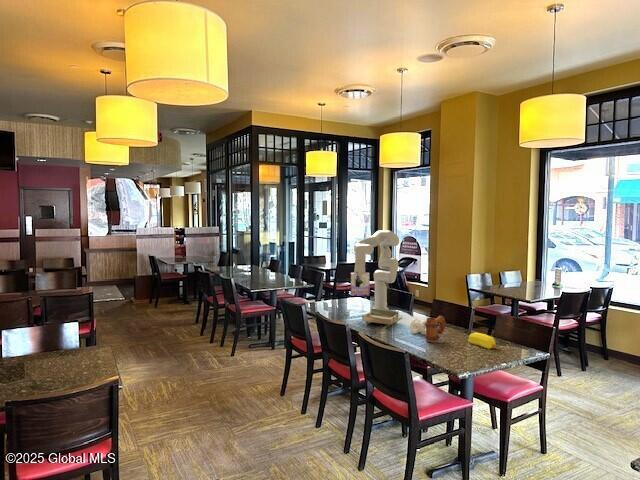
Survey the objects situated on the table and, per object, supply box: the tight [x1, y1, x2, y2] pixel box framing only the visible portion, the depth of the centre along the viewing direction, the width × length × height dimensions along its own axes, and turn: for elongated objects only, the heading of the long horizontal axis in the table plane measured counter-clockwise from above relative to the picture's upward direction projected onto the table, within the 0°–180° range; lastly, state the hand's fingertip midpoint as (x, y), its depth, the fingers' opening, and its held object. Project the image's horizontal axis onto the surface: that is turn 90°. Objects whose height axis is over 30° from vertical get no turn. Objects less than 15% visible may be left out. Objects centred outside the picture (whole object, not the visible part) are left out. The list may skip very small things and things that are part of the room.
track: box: [363, 316, 403, 330], centre depth 312 cm, size 34×16×1 cm, turn 151°
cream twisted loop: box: [408, 318, 427, 335], centre depth 283 cm, size 11×12×9 cm
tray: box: [361, 307, 399, 326], centre depth 307 cm, size 17×20×7 cm
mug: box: [424, 315, 446, 344], centre depth 265 cm, size 15×8×15 cm, turn 117°
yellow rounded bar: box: [468, 332, 497, 350], centre depth 258 cm, size 18×7×8 cm
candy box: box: [350, 271, 371, 297], centre depth 321 cm, size 14×6×16 cm, turn 83°
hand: (360, 285), depth 321 cm, fingers closed on candy box, 7 cm apart
